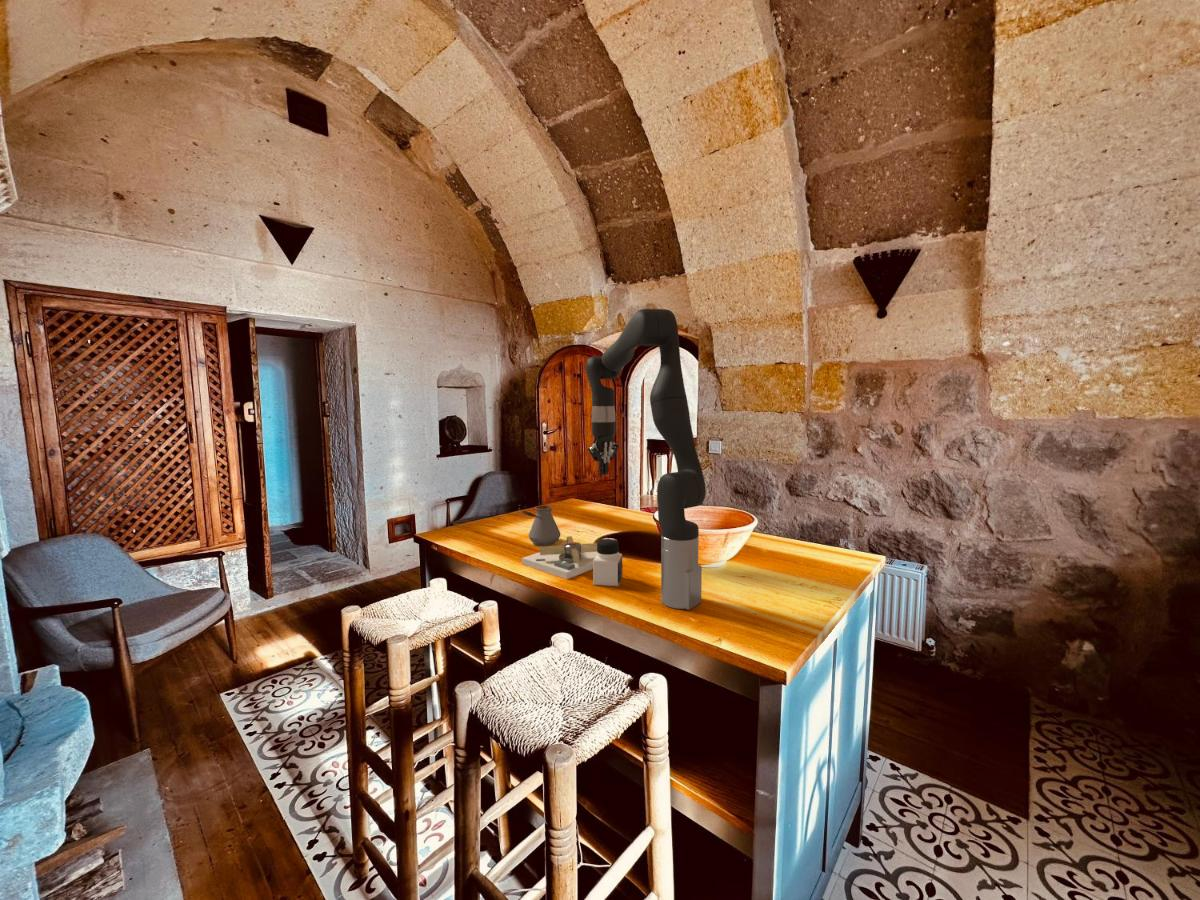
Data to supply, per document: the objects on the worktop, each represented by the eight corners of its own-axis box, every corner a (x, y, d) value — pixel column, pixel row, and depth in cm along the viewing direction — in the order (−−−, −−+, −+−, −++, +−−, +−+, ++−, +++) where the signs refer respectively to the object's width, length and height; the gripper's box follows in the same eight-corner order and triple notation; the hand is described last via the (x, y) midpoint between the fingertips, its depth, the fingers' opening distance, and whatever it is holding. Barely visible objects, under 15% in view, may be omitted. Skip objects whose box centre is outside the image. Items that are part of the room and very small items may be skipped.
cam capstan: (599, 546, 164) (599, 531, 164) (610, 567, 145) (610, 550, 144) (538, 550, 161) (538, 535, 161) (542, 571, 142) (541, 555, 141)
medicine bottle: (618, 586, 136) (618, 544, 134) (593, 585, 137) (592, 543, 136) (622, 577, 142) (622, 536, 141) (598, 575, 144) (597, 535, 143)
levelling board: (609, 562, 156) (609, 550, 155) (566, 579, 142) (566, 566, 141) (565, 549, 169) (565, 539, 168) (522, 564, 155) (521, 552, 154)
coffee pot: (538, 536, 185) (536, 497, 183) (566, 539, 181) (565, 499, 179) (507, 554, 165) (506, 510, 163) (538, 557, 161) (537, 512, 159)
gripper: (598, 421, 149) (599, 478, 151) (625, 419, 159) (626, 473, 161) (580, 421, 154) (581, 476, 156) (608, 419, 164) (608, 470, 166)
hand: (604, 474), depth 158 cm, fingers closed
